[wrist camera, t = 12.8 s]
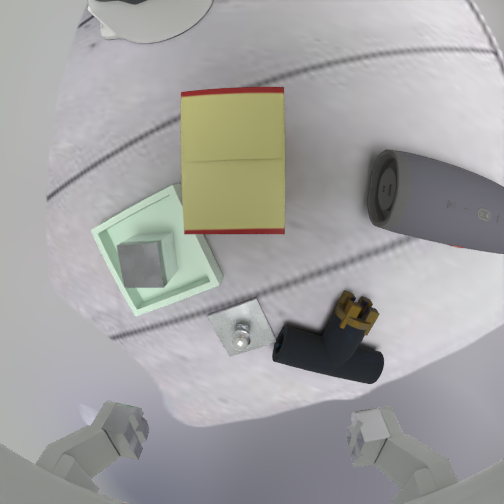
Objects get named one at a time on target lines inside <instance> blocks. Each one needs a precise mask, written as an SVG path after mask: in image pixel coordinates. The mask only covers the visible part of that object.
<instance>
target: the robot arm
mask: <svg viewBox="0 0 504 504" xmlns="http://www.w3.org/2000/svg"><path fill="white" fill-rule="evenodd" d="M87 1H88V4H89V6H88V10H89V12H90V13H91V14H92V15H94V16H95V17H96V18H97V19H98V20H99V21H100V22H101V35H102V36H103V37H104V38H105V39H118V38H123V39H126V40H129V41H132V42H136V43H154V42H159V41H163V40H166V39H169V38H172V37H174V36H176V35H178V34H180V33H182V32H184V31H186V30H187V29H189V28H190V27H192V26H193V25H194V24H196V23H197V22H198V21H199V20H200V19H201V18H202V17H203V16H204V15H205V14H206V12H207V11H208V9H209V8H210V6H211V4H212V2H213V0H87ZM143 414H144V413H143V411H142V409H141V408H139V407H133V406H129V405H125V404H121V403H115V402H112V401H107V402H105V403H104V405H103V407H102V408H101V410H100V411H99V413H98V415H97V416H96V418H95V420H94V421H93V423H92V424H91V426H88V425H87V426H86V427H84V428H82V429H80V430H78V431H76V432H74V433H72V434H70V435H68V436H66V437H64V438H62V439H60V440H57V441H56V442H54V443H51V444H49V445H48V446H47V447H46V449H45V450H44V452H43V453H42V455H41V457H40V458H39V460H38V461H37V463H36V464H34V463H32V462H30V461H28V460H27V459H25V458H23V457H21V456H20V455H18V454H17V453H15V452H13V451H12V450H10V449H8V448H7V447H6V446H4V445H3V444H1V443H0V504H129V503H126V502H123V501H120V500H116V499H113V498H110V497H107V496H105V495H101V494H99V493H98V490H99V488H98V486H97V485H96V484H95V482H94V481H93V480H92V478H93V477H94V476H95V475H97V474H98V473H100V472H101V471H102V470H104V469H105V468H107V467H108V466H109V465H111V464H112V463H113V462H114V461H116V460H117V459H118V458H120V456H122V457H127V458H131V459H136V460H139V457H140V455H141V452H142V450H143V447H142V445H141V444H142V443H143V442H145V441H146V440H147V437H148V433H149V426H148V423H147V421H146V420H145V419H144V418H143V417H142V416H143ZM351 421H352V423H351V424H349V426H348V429H347V441H348V446H349V447H350V448H352V449H353V450H352V452H351V458H352V463H353V467H359V466H366V465H372V464H374V465H375V466H376V467H377V468H378V469H379V470H380V471H381V472H382V473H384V475H386V476H387V477H388V478H389V479H390V480H391V481H392V482H393V483H395V484H396V485H397V486H398V487H399V488H400V489H401V490H400V492H399V493H398V494H397V495H396V496H395V498H394V499H393V500H392V503H393V504H504V458H503V459H502V460H500V461H498V462H497V463H495V464H493V465H491V466H490V467H488V468H486V469H484V470H482V471H480V472H478V473H476V474H474V475H473V476H470V477H468V478H466V479H464V480H462V481H460V482H459V481H458V479H457V477H456V474H455V472H454V470H453V468H452V466H451V464H450V462H449V459H447V458H446V457H444V456H442V455H441V454H439V453H437V452H435V451H434V450H432V449H431V448H429V447H427V446H426V445H424V444H422V443H420V442H419V441H417V440H416V439H414V438H413V437H411V436H409V435H408V434H403V432H402V430H401V427H400V425H399V423H398V420H397V418H396V416H395V414H394V411H393V409H392V407H391V406H386V407H380V408H373V409H368V410H361V411H355V412H353V413H352V416H351Z"/></svg>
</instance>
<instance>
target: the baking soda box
mask: <svg viewBox="0 0 504 504" xmlns="http://www.w3.org/2000/svg"><path fill="white" fill-rule="evenodd" d="M181 177H182V203H183V223H184V234H285V117H284V87H240V88H221V89H207V90H196V91H187V92H181Z"/></svg>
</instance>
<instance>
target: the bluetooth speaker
mask: <svg viewBox="0 0 504 504" xmlns="http://www.w3.org/2000/svg"><path fill="white" fill-rule="evenodd" d="M368 213H369V217H370V220H371V222H372V223H373V225H375V226H377V227H380V228H383V229H386V230H389V231H392V232H396V233H400V234H404V235H408V236H412V237H417V238H421V239H425V240H429V241H434V242H438V243H443V244H447V245H450V246H453V247H457V248H468V249H473V250H479V251H485V252H492V253H499V254H504V187H503V186H501V185H499V184H497V183H495V182H493V181H491V180H489V179H487V178H484V177H482V176H480V175H478V174H475V173H473V172H470V171H468V170H465V169H462V168H460V167H457V166H454V165H451V164H448V163H445V162H441V161H438V160H435V159H431V158H427V157H424V156H420V155H416V154H412V153H407V152H401V151H393V150H385V151H383V152H382V153H381V154H380V155H379V156H378V158H377V159H376V161H375V163H374V166H373V169H372V173H371V183H370V189H369V194H368Z"/></svg>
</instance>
